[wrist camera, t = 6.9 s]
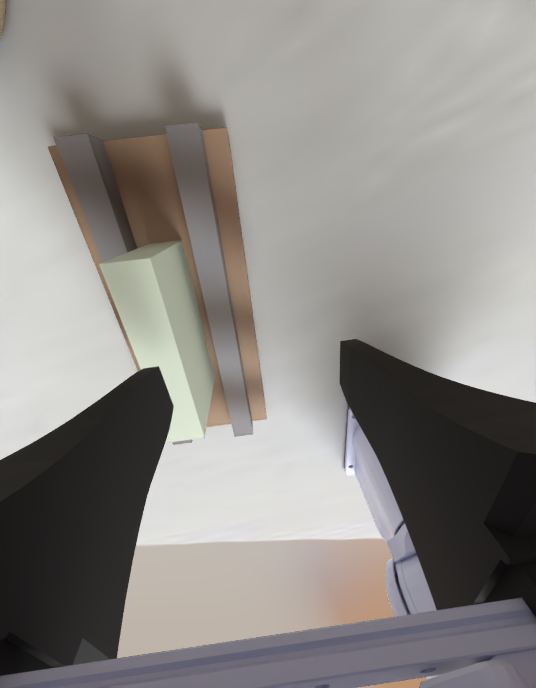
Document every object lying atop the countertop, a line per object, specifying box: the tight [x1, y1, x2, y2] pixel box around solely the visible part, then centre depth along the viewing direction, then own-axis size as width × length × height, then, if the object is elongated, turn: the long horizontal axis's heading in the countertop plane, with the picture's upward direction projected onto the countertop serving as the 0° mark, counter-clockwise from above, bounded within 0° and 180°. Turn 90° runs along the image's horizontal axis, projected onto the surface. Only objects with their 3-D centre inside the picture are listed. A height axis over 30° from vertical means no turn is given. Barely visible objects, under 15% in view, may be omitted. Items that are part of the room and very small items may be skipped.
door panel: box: [99, 240, 215, 442], centre depth 15 cm, size 10×2×6 cm, turn 5°
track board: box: [48, 122, 267, 445], centre depth 18 cm, size 20×9×2 cm, turn 5°
